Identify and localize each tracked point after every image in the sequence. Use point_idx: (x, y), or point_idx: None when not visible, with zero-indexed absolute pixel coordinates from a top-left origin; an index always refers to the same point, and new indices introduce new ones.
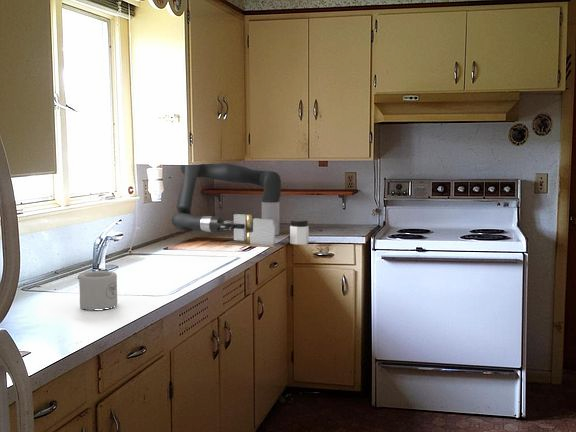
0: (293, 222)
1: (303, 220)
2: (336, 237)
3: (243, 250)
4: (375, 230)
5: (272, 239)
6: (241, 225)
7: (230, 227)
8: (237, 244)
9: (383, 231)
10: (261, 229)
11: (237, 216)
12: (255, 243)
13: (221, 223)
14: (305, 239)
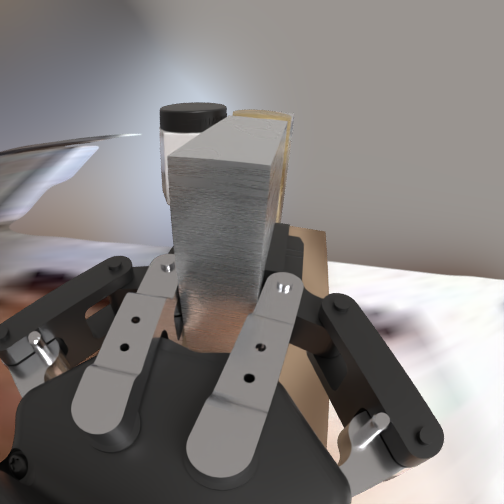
0: (218, 114)
1: (198, 104)
2: (65, 164)
3: (390, 332)
4: (20, 150)
5: (282, 208)
6: (301, 244)
7: (279, 376)
8: (290, 385)
9: (35, 144)
10: (283, 188)
11: (276, 171)
12: None
13: (326, 496)
14: None
